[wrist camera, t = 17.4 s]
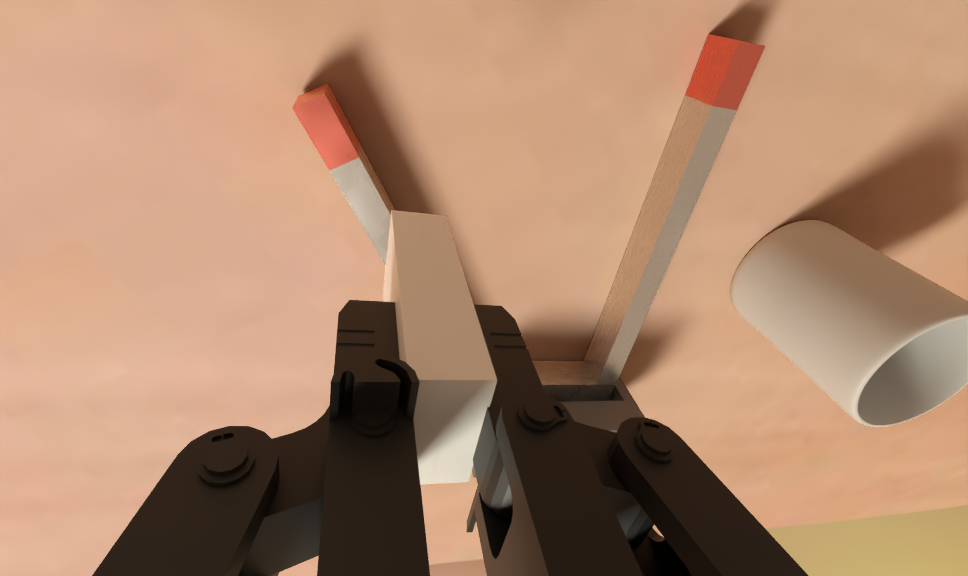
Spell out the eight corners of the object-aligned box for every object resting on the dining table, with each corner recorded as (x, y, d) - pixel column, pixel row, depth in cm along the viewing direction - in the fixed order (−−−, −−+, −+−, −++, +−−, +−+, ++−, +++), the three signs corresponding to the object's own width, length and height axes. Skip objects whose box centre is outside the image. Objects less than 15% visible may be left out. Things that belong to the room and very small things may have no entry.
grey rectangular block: (599, 408, 39) (631, 467, 34) (459, 411, 36) (473, 477, 31) (615, 370, 37) (652, 428, 32) (468, 370, 34) (484, 435, 29)
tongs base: (580, 412, 39) (594, 441, 37) (473, 415, 37) (481, 446, 35) (732, 39, 25) (770, 47, 23) (575, 4, 23) (599, 8, 20)
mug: (715, 325, 37) (828, 440, 28) (748, 224, 32) (896, 324, 23) (850, 305, 39) (995, 406, 30) (900, 207, 34) (1090, 292, 25)
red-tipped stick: (462, 336, 32) (468, 358, 30) (442, 345, 32) (446, 367, 30) (327, 83, 22) (324, 93, 20) (298, 96, 22) (292, 107, 20)
